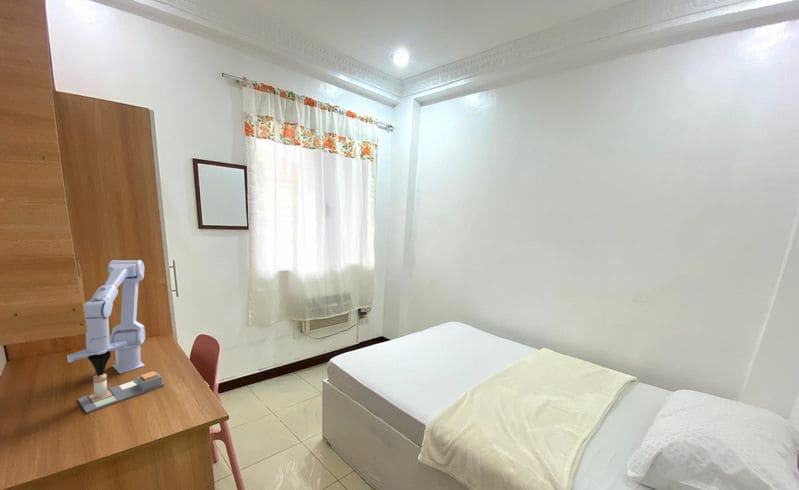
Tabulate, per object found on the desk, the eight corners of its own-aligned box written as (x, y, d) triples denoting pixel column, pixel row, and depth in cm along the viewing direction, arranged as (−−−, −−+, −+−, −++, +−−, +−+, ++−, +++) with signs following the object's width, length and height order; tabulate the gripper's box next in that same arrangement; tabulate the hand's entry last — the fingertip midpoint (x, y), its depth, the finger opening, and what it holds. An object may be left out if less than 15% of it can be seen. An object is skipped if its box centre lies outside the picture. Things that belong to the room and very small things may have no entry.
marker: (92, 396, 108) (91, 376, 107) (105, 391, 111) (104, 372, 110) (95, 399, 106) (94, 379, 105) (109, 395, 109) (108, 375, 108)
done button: (141, 381, 116) (140, 375, 115) (153, 377, 119) (153, 371, 118) (144, 384, 113) (144, 378, 113) (157, 380, 117) (157, 374, 116)
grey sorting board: (77, 400, 106) (77, 390, 106) (153, 375, 123) (153, 366, 123) (86, 413, 100) (85, 403, 100) (164, 385, 117) (164, 376, 117)
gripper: (69, 346, 98) (72, 387, 99) (129, 332, 110) (130, 369, 111) (64, 340, 102) (67, 379, 103) (122, 327, 114) (124, 363, 115)
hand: (99, 374), depth 107 cm, fingers closed
